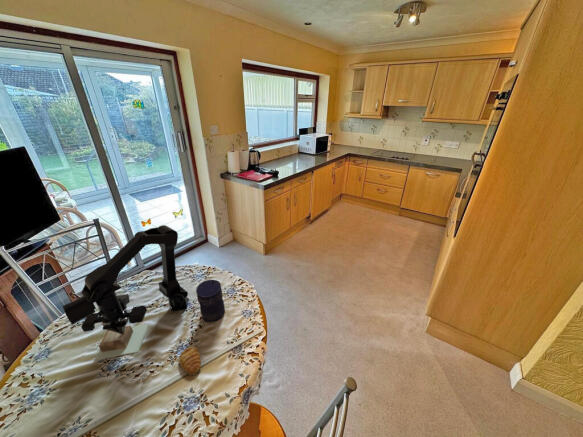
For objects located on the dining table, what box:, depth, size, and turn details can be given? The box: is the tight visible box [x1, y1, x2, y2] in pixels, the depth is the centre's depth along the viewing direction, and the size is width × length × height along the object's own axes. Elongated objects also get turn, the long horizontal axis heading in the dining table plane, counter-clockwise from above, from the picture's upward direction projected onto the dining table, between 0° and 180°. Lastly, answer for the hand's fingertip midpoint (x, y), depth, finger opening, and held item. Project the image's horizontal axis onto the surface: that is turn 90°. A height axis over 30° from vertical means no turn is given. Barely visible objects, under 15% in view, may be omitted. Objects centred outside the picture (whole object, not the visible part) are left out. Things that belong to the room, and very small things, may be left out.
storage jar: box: [195, 279, 226, 324], centre depth 98 cm, size 10×10×15 cm
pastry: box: [178, 346, 202, 376], centre depth 82 cm, size 9×7×4 cm
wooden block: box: [98, 325, 133, 352], centre depth 88 cm, size 4×7×8 cm
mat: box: [94, 323, 149, 361], centre depth 89 cm, size 14×12×1 cm
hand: (123, 332), depth 88 cm, fingers closed
